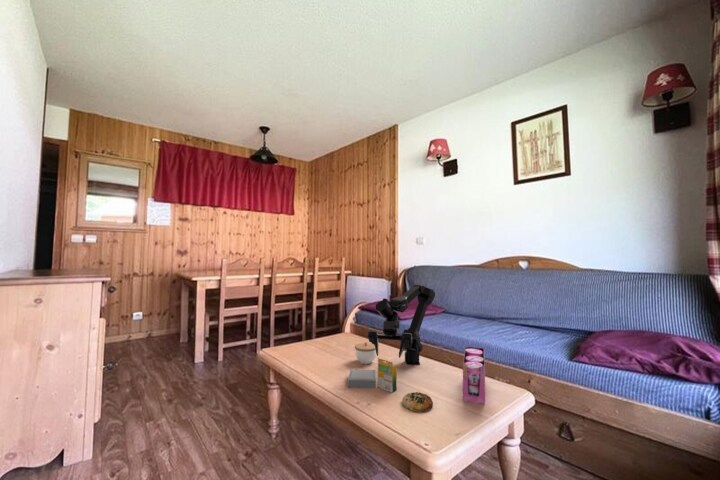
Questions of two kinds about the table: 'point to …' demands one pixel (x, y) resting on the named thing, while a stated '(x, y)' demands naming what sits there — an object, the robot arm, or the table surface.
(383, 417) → the table surface
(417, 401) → the bread roll
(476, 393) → the pink product box
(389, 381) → the crayon box
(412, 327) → the robot arm
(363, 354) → the lidded jar
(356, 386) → the tray
